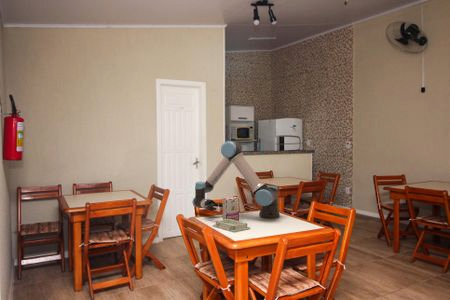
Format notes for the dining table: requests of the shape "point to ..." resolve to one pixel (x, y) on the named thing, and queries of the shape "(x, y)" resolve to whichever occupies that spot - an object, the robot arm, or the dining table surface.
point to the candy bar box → (231, 208)
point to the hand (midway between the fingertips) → (227, 208)
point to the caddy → (231, 225)
